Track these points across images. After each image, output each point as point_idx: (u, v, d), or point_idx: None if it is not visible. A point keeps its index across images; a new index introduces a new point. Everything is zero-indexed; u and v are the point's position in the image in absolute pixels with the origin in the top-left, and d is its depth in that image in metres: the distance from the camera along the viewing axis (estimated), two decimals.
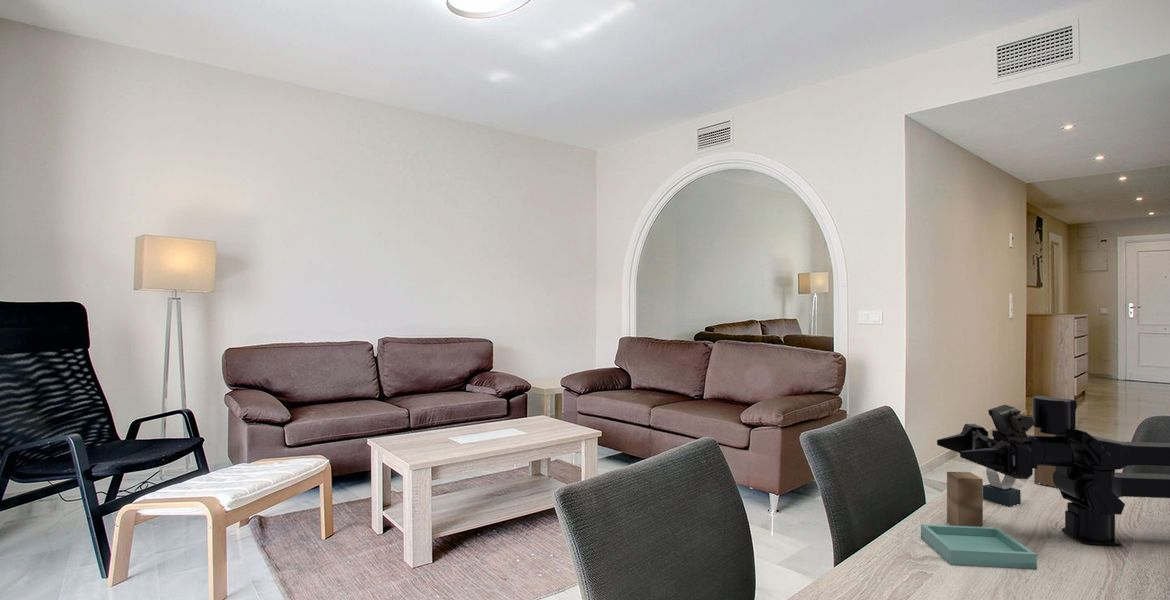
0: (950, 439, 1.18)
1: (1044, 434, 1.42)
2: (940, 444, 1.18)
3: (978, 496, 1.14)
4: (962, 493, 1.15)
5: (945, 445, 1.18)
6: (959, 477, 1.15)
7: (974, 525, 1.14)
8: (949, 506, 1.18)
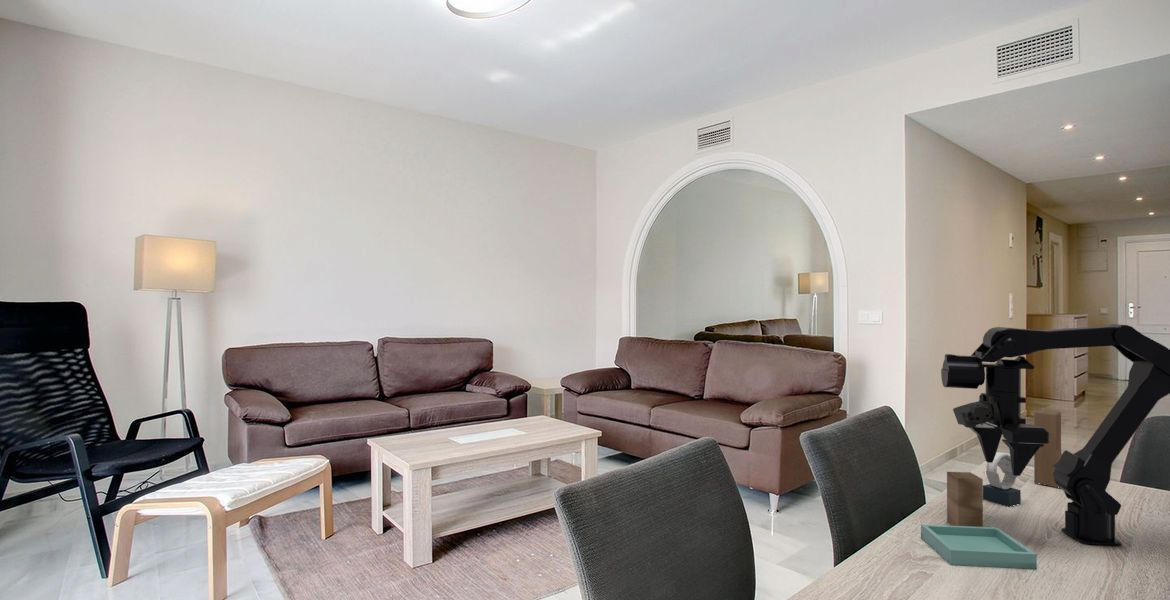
0: (986, 450, 1.20)
1: None
2: (991, 460, 1.20)
3: (978, 496, 1.14)
4: (962, 493, 1.15)
5: (992, 455, 1.20)
6: (959, 477, 1.15)
7: (974, 525, 1.14)
8: (949, 506, 1.18)
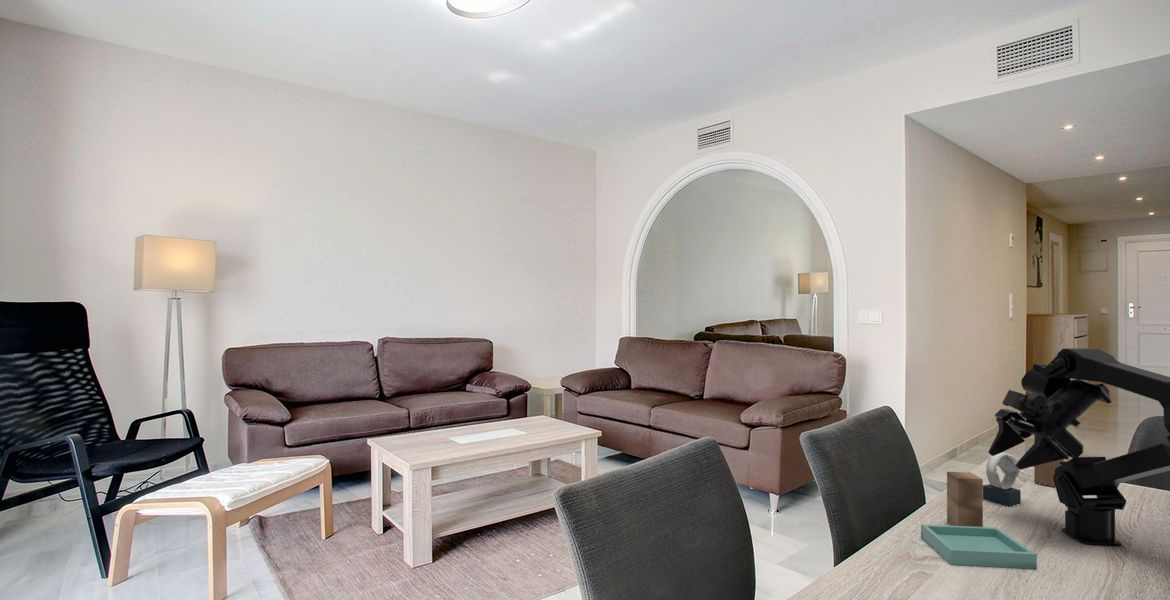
0: (997, 443, 1.20)
1: None
2: (994, 454, 1.20)
3: (978, 496, 1.14)
4: (962, 493, 1.15)
5: (998, 451, 1.20)
6: (959, 477, 1.15)
7: (974, 525, 1.14)
8: (949, 506, 1.18)
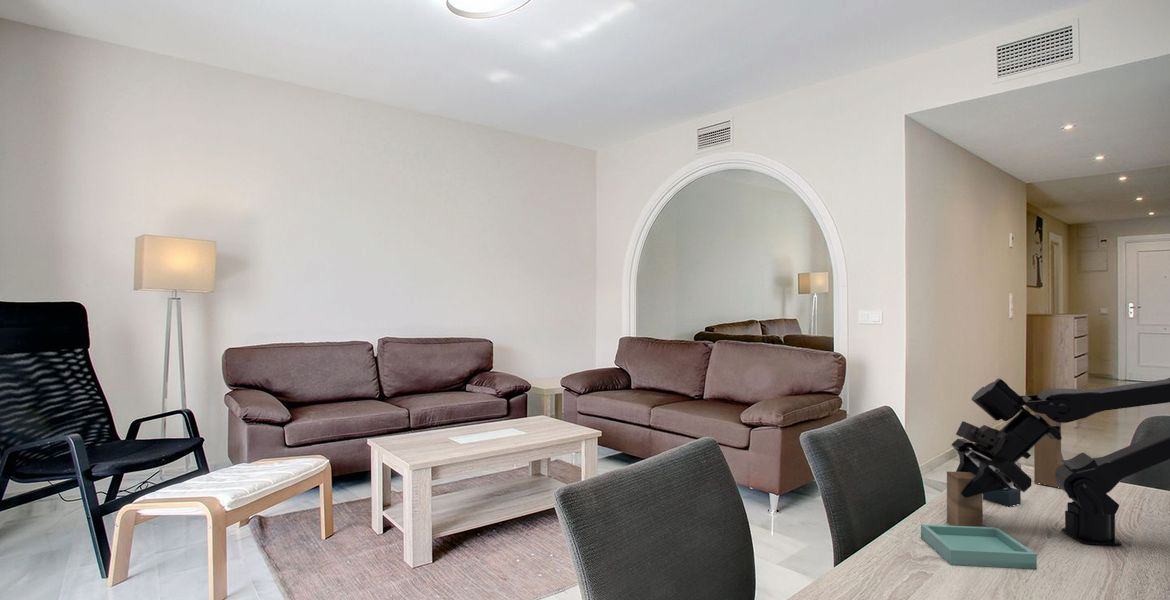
0: None
1: None
2: None
3: (978, 496, 1.14)
4: None
5: None
6: (959, 477, 1.15)
7: (974, 525, 1.14)
8: (949, 506, 1.18)
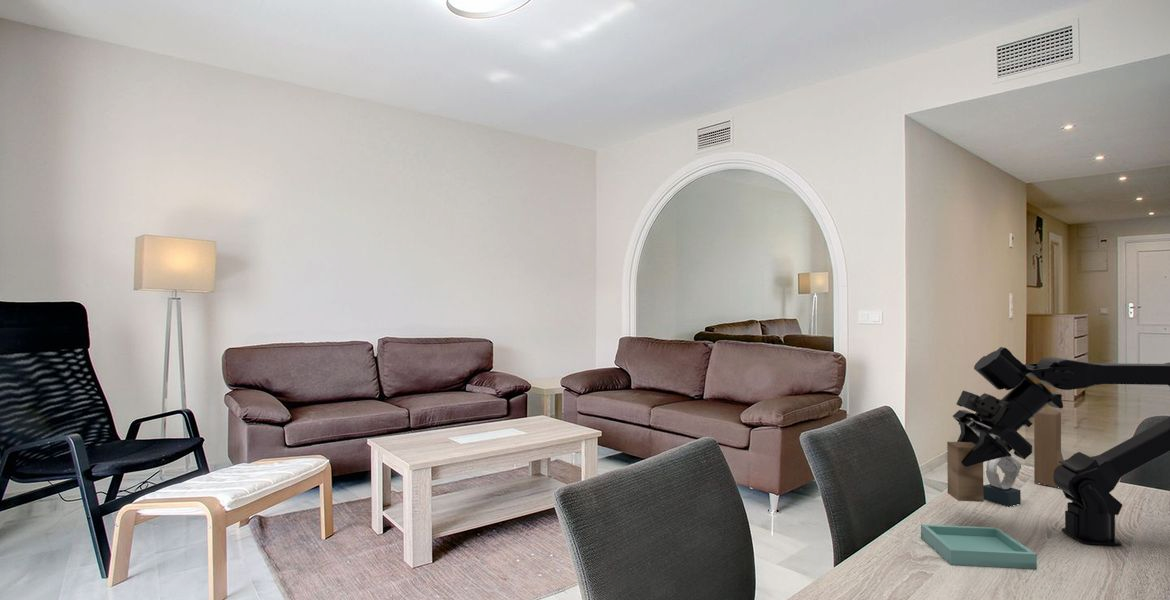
0: None
1: (1044, 434, 1.42)
2: None
3: (978, 465, 1.13)
4: None
5: None
6: (959, 446, 1.14)
7: (975, 494, 1.13)
8: (950, 476, 1.17)
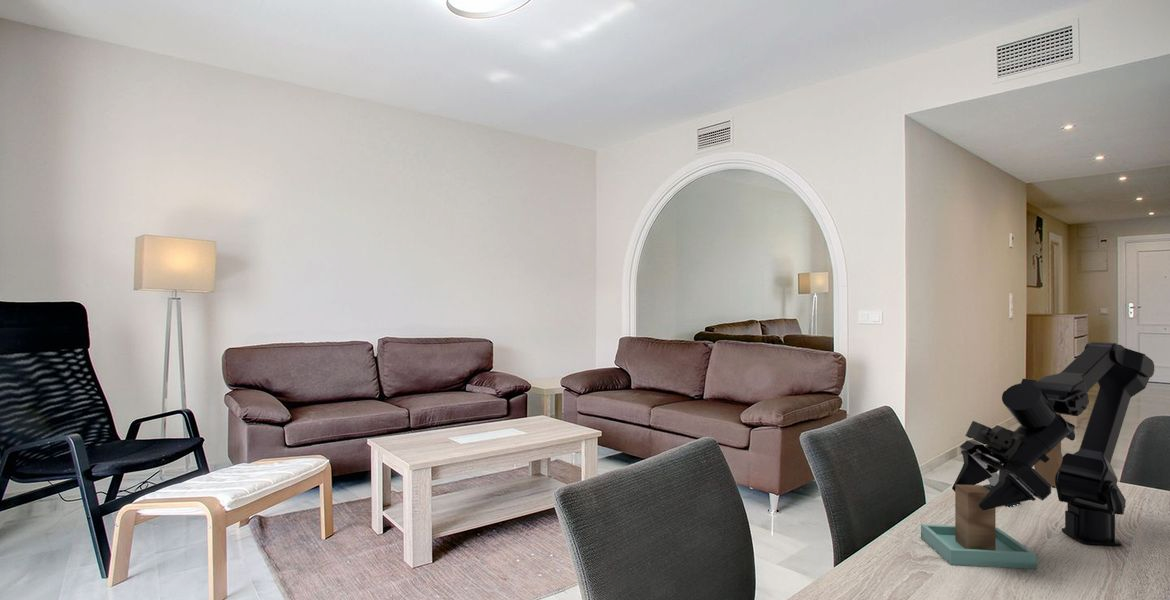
0: (961, 479, 1.10)
1: None
2: None
3: (990, 512, 1.03)
4: (973, 508, 1.03)
5: None
6: (969, 491, 1.04)
7: (986, 544, 1.03)
8: (958, 523, 1.06)
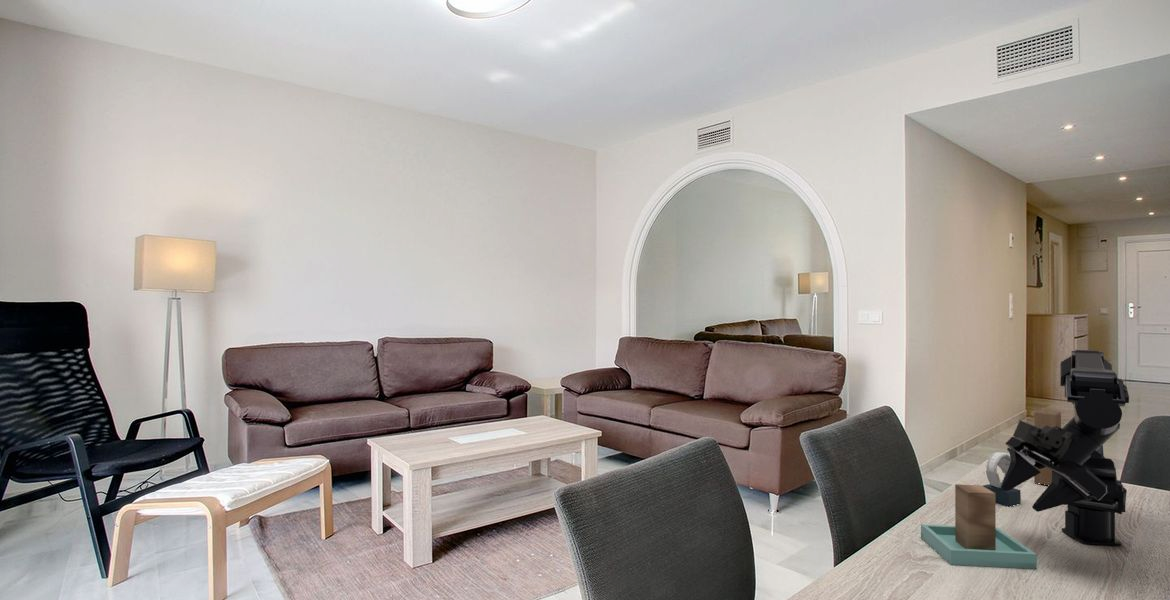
0: (1010, 477, 1.09)
1: None
2: (1007, 489, 1.09)
3: (990, 512, 1.03)
4: (973, 508, 1.03)
5: (1011, 485, 1.09)
6: (969, 491, 1.04)
7: (986, 544, 1.03)
8: (958, 523, 1.06)
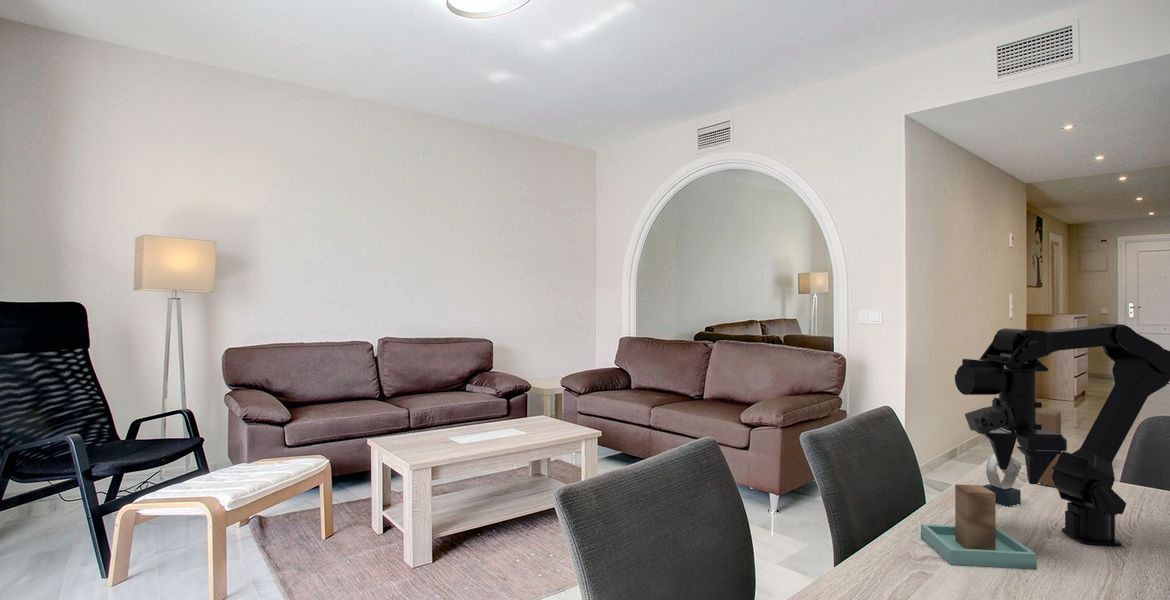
0: (999, 456, 1.15)
1: None
2: (1005, 467, 1.15)
3: (990, 512, 1.03)
4: (973, 508, 1.03)
5: (1006, 462, 1.15)
6: (969, 491, 1.04)
7: (986, 544, 1.03)
8: (958, 523, 1.06)
